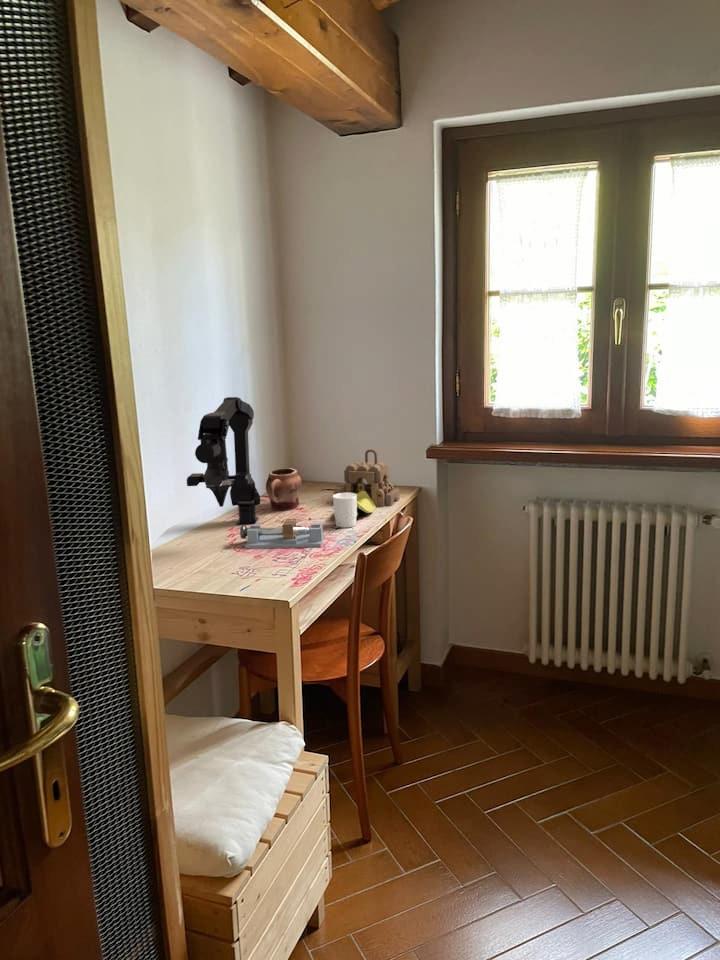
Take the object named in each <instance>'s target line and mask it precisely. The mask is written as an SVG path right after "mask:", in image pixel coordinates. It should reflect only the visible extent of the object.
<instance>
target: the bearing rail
mask: <svg viewBox="0 0 720 960" xmlns="http://www.w3.org/2000/svg"><path fill="white" fill-rule="evenodd" d="M249 528H262V526H261V524H250V526H249ZM308 528H309V534H307V535H297V536H296V538H295V539H286V540H284V539H283V535H271V536H258V529H248V530H247V537H246V539H247V542H246V543H245V545H244V548H245V549H278V548H279V549H282V548H283V549H284V548H285V549H286V548H321V547H322V544H323V541H324V539H325V533H324V529H323V528H324V526H323V523H321V522H317V523H316V522H315V523H311V524H310V527H308Z"/></svg>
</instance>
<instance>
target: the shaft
mask: <svg viewBox="0 0 720 960" xmlns="http://www.w3.org/2000/svg"><path fill="white" fill-rule="evenodd" d="M309 528H310V527H308V526H296V527H293V532H294V535H307V534H309ZM248 529H258V536H271V535H283V526H282V527H261V528H250V527H247V525H241V526H240V528H239V534H240V535H239V536H240V539H242V540H243V539H247V530H248Z"/></svg>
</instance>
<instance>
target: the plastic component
mask: <svg viewBox="0 0 720 960" xmlns="http://www.w3.org/2000/svg"><path fill="white" fill-rule="evenodd" d="M356 495H357V509H359V510H361V511H362V512H364V513H366V514H371V513H374V511H375V509H376V508H377V507H375V504H374V502H373V501H372V500H371V498H370V497H369V495H368V494H367V493H366V492H365V491H361V492H359V493H357V494H356ZM358 515H359V512H358V511H357V517H358Z"/></svg>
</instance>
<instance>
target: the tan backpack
mask: <svg viewBox="0 0 720 960" xmlns="http://www.w3.org/2000/svg"><path fill="white" fill-rule="evenodd" d="M369 453H373V454H374V456H373V457H374V462H373V461H372V460H369ZM378 460H379V459H378V453H377V450H375V449H373V448H371V449H367V450H366V451H365V453H364V461H365V462H363V461H361V460H357V461H354V462H352V463H351V464H349V465H347V466H346V467H345V470H343V477H344V482H345V483H344V485H343V486H342V487H340V488H339V489H337V490H336V491H334V492H333V495H335V494H338V493H355V494H357V493H359V492H361V491H365V492H366V493H367V494H368V495H369V497H370V498H371V500H372V501H373V502H374V504H375V507H376V508H378V507H380V508H381V507H383V508H384V507H392V506H394V502H399V501H400V489H399V488H395V487H394V484H393V483H392V482H390V467H389V466H387V464H386V462H384V461H381V460H380V461H379V462H378Z"/></svg>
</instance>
